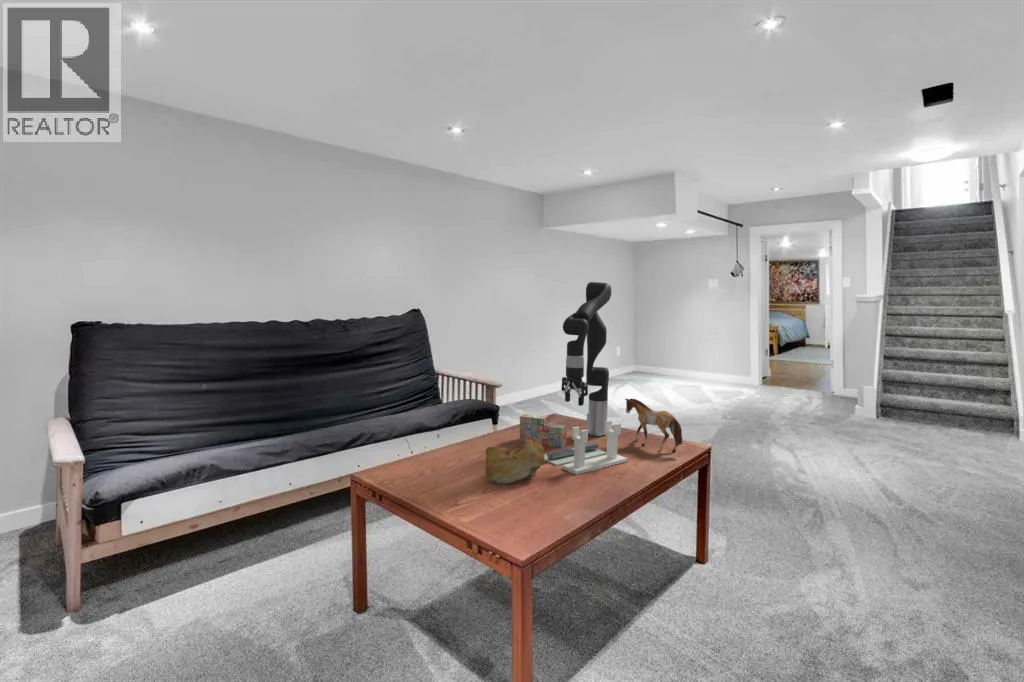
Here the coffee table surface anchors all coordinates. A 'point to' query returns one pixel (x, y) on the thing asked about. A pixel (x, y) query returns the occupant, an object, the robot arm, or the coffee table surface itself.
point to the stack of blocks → (542, 430)
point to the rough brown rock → (514, 462)
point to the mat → (571, 458)
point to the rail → (570, 451)
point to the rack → (597, 462)
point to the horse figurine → (655, 421)
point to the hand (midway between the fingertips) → (574, 403)
